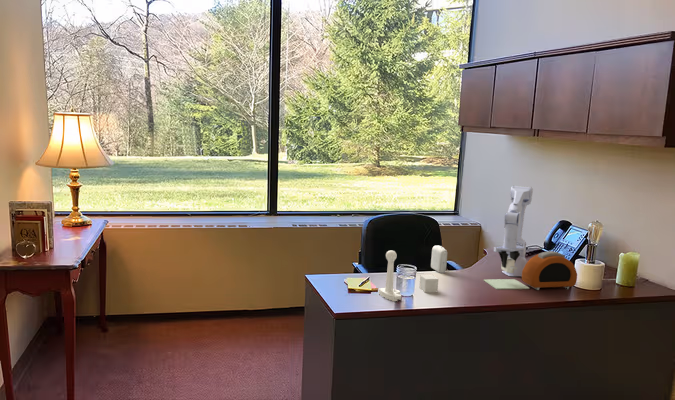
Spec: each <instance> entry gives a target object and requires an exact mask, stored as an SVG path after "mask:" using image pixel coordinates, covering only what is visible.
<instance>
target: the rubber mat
mask: <svg viewBox="0 0 675 400" xmlns="http://www.w3.org/2000/svg"><path fill="white" fill-rule="evenodd" d="M483 281H484V282H485V283H487V284H488V285H489V286H491V287H492V288H494V289H495V290H530V286H528V285H526V284H524V283H522V282H521V281H519V280H517V279H515V278H510V279H509V278H508V279H507V278H504V279H502V278H499V279H497V278H496V279H493V278H492V279H490V278H489V279H483Z"/></svg>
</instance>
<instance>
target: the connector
mask: <svg viewBox="0 0 675 400" xmlns="http://www.w3.org/2000/svg"><path fill="white" fill-rule="evenodd" d="M514 264H515V260H513V259H511V258H509V257H507V261H506V268H504V267H502V263H501V264H500V269H501V271H506V272H508V273H514V270H517V267H515V266H514Z"/></svg>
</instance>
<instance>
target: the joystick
mask: <svg viewBox="0 0 675 400" xmlns="http://www.w3.org/2000/svg"><path fill="white" fill-rule="evenodd" d="M385 259H386V260H387V269H386V271H387V272H386V281H385V287H380V288H378V295H379V294H380V295H381V296H380V295H379V296H380V297H382V296H383V297H385V298H387V299H386V300H388V299H389V300H388V301H390V300H392V302H394V301H397V302H398V301H401V300H402V294H401V291H400V290H398V289H394V269H395V268H394V266H395V265H394V264H395V261H396V259H397V252H396V251H395V250H388V251H386V253H385ZM383 297H382V298H383ZM385 298H384V299H385Z"/></svg>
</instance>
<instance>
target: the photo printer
mask: <svg viewBox="0 0 675 400" xmlns="http://www.w3.org/2000/svg"><path fill="white" fill-rule="evenodd" d="M447 262H448V251H447V249H445V247H443V246H442V245H434V246H433V247H432V249H431V259H430V268H431V269H433V270H435V272H437V273H440V274H444V273H447Z"/></svg>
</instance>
